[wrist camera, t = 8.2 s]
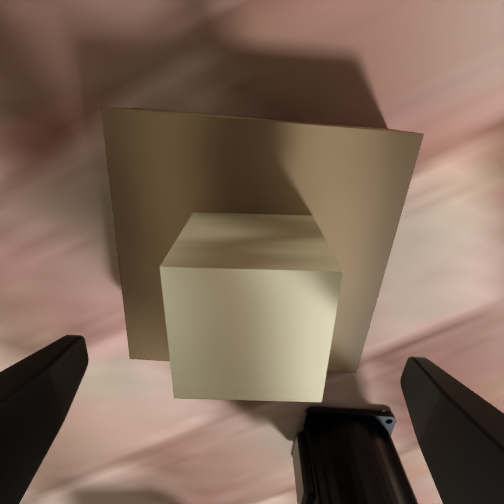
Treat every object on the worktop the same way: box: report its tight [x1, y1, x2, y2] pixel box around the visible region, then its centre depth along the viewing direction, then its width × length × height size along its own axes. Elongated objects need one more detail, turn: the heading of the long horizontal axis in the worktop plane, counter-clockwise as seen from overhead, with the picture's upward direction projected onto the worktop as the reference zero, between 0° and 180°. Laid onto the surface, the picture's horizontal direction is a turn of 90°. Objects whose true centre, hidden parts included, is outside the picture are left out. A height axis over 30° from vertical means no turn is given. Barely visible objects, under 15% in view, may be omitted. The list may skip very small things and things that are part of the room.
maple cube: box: [160, 212, 343, 402], centre depth 12 cm, size 5×5×5 cm
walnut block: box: [101, 108, 424, 373], centre depth 16 cm, size 12×12×4 cm
